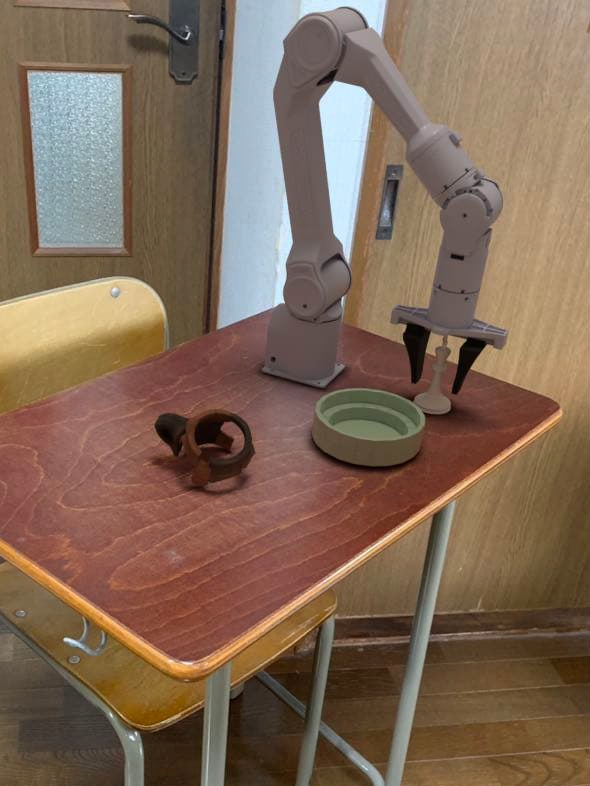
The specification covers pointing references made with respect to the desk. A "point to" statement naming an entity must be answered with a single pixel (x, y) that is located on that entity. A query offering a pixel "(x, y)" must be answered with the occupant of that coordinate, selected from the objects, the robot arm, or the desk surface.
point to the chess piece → (436, 385)
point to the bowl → (368, 427)
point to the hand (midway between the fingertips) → (435, 386)
